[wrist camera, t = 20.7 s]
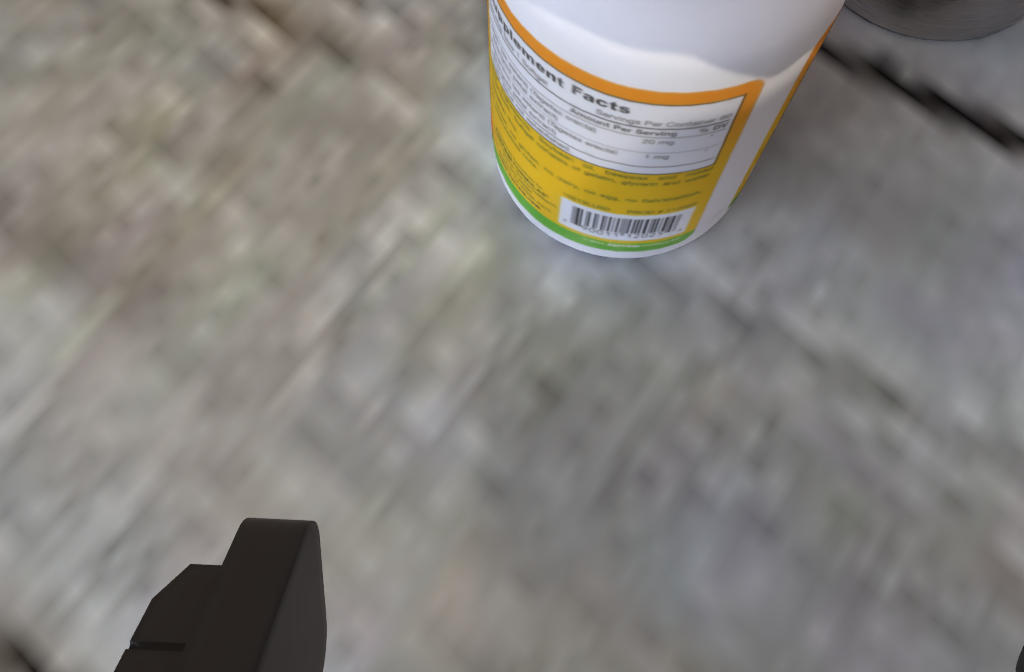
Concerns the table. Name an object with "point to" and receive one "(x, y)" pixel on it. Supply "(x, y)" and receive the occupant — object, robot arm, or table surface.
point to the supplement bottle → (641, 110)
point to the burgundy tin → (940, 16)
